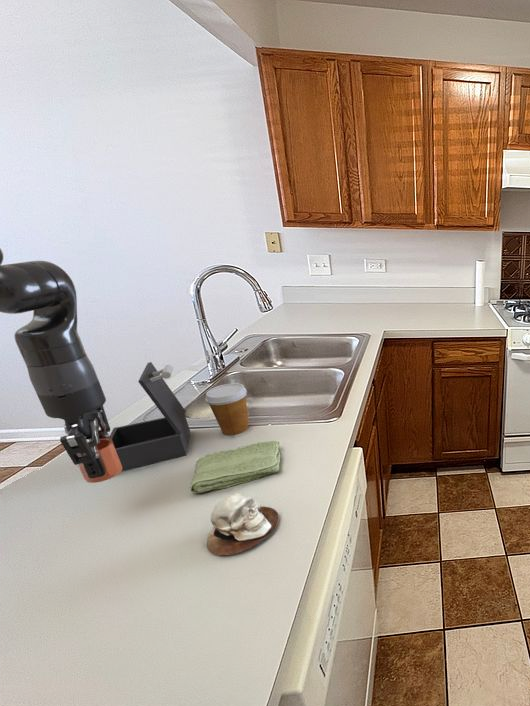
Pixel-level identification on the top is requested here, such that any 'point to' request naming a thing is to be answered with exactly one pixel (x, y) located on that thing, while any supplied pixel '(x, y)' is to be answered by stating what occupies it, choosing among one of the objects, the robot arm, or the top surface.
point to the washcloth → (235, 466)
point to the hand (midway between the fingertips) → (102, 466)
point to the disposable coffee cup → (229, 407)
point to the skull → (239, 524)
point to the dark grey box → (149, 442)
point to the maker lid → (163, 394)
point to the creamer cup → (105, 461)
